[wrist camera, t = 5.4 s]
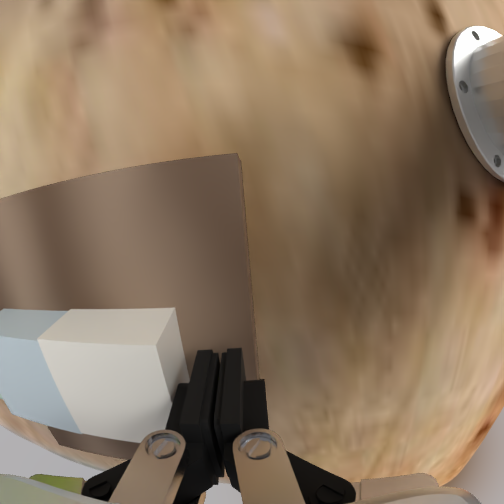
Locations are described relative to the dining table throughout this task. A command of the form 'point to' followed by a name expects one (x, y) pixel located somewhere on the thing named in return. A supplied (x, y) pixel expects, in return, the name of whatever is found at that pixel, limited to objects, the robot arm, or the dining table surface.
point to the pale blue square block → (30, 369)
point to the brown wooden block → (137, 256)
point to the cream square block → (116, 368)
